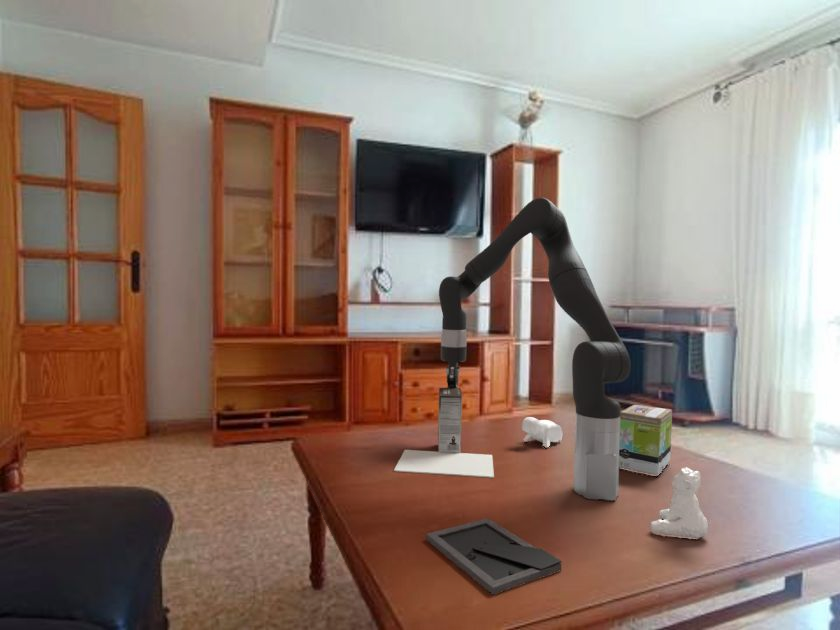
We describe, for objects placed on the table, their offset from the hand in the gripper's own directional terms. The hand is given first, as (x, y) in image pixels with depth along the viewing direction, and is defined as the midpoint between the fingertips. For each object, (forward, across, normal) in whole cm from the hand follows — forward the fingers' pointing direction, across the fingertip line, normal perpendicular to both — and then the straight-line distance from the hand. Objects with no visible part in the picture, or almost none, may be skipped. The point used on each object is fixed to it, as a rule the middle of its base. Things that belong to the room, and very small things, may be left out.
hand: (452, 402), depth 141 cm
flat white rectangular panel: (+11, -20, 0) cm, 23 cm away
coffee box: (+11, -7, 0) cm, 13 cm away
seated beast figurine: (+10, -50, -45) cm, 68 cm away
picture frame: (+10, -64, -11) cm, 66 cm away
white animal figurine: (+12, +4, -26) cm, 29 cm away
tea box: (+12, -12, -51) cm, 54 cm away
